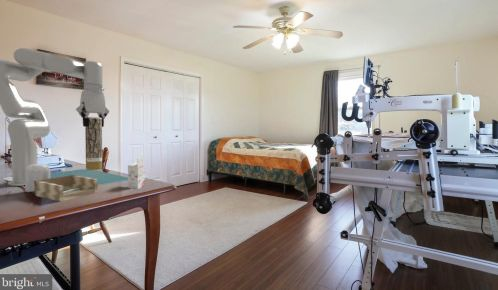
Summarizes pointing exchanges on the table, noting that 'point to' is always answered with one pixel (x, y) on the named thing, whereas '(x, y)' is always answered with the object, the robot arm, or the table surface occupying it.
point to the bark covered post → (94, 144)
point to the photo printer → (35, 175)
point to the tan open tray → (65, 187)
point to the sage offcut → (71, 190)
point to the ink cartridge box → (136, 174)
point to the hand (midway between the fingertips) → (93, 126)
